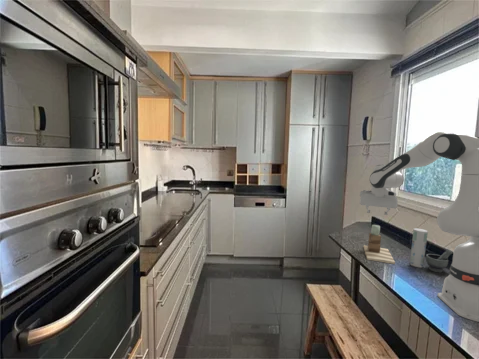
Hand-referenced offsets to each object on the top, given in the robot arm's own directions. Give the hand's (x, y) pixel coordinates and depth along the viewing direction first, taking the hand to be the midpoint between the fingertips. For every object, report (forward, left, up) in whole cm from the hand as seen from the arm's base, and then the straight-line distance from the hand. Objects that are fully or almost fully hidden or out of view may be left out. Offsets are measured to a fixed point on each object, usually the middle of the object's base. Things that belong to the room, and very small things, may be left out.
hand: (377, 213), depth 159 cm
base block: (0, 0, -23) cm, 23 cm away
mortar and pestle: (-13, -29, -25) cm, 40 cm away
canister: (0, 0, -13) cm, 13 cm away
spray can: (-11, -20, -25) cm, 34 cm away
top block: (0, 0, -18) cm, 18 cm away
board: (-4, -2, -24) cm, 25 cm away
